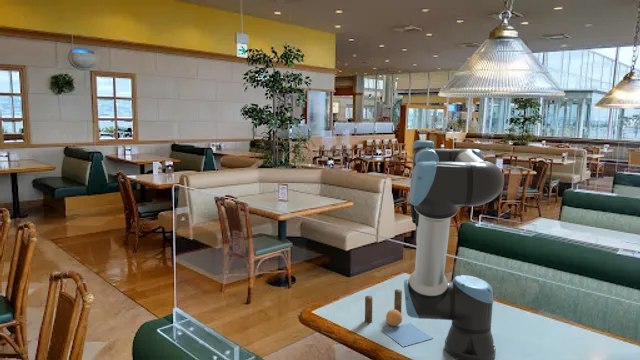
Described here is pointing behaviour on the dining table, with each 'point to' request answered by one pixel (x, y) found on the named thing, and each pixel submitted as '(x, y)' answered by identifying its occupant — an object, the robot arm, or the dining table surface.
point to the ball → (394, 317)
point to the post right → (398, 300)
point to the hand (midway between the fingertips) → (420, 242)
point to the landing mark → (407, 334)
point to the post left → (368, 309)
